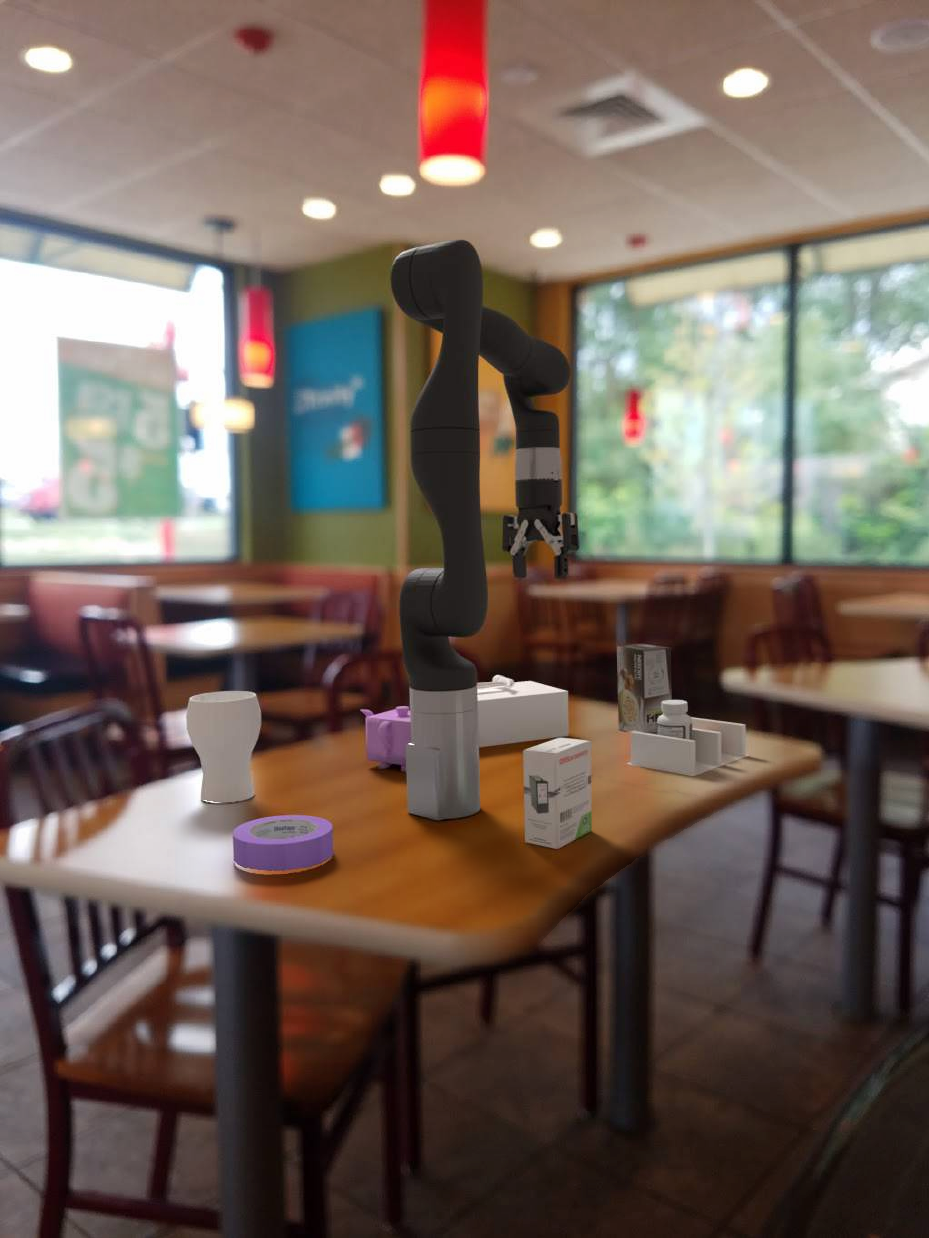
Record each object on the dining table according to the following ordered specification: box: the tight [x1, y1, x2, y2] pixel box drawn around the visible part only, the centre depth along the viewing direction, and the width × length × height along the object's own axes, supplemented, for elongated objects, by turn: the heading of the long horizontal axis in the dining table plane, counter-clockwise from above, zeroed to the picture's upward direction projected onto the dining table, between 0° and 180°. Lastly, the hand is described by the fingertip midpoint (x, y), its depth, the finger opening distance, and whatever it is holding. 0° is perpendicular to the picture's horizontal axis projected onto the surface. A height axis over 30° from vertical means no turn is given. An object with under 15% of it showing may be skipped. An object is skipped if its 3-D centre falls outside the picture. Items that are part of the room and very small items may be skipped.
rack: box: [626, 716, 750, 777], centre depth 153 cm, size 17×12×6 cm
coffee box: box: [616, 643, 673, 734], centre depth 179 cm, size 9×6×16 cm
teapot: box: [360, 705, 411, 773], centre depth 158 cm, size 18×13×10 cm
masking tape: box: [232, 814, 334, 871], centre depth 114 cm, size 12×12×4 cm
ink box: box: [522, 737, 593, 850], centre depth 119 cm, size 9×5×12 cm, turn 142°
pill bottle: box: [656, 699, 692, 740], centre depth 150 cm, size 5×5×10 cm
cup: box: [185, 690, 262, 803], centre depth 141 cm, size 11×11×15 cm
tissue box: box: [477, 674, 570, 748], centre depth 179 cm, size 14×25×11 cm, turn 115°
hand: (540, 578), depth 156 cm, fingers open, 8 cm apart
